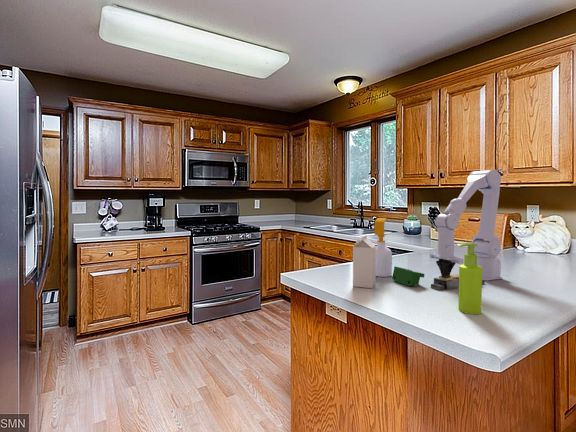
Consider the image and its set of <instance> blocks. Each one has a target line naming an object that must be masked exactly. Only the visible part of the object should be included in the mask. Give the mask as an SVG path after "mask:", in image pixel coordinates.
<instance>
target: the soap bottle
mask: <svg viewBox="0 0 576 432" xmlns="http://www.w3.org/2000/svg"><path fill="white" fill-rule="evenodd" d="M386 221H387V218H386V217H377V218H376V219H375V221H374V236H377V238H378V240H376V245H375V246H376V266H375V277H377V276H378V278H389V277H391V276H393V252H392V250H391V249H390V248H389V247H387V246H386V240H384V238H385V236H386V235H388V234H387V233H385V223H386ZM388 276H389V277H388Z"/></svg>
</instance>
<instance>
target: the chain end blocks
mask: <svg viewBox="0 0 576 432" xmlns="http://www.w3.org/2000/svg"><path fill="white" fill-rule="evenodd" d="M485 281H486V280H482V285H485V283H486V282H485ZM430 288H431V289H434V290H437V291H444V290H445V291H446V290H447V291H448V290H455V289H459V280H457V279H454V280H443V279H439V277H434V278H433V283H430Z"/></svg>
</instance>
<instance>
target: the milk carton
mask: <svg viewBox="0 0 576 432" xmlns="http://www.w3.org/2000/svg"><path fill="white" fill-rule="evenodd" d="M367 236H368V235H367V234H365V235H364V236H362V237H361V238H362V239H361V238H358V239H357V240H355V243H356V244H355V245H354V246H353V247H352V287H353V288H354V287H357V288H363V289H365V288H366V289H373V288H374V287H375V286H376V276H375V266H376V246H377V245H375V244H374V243H373V242H372V241H371V240H370V239H369V238H368V237H367Z"/></svg>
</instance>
